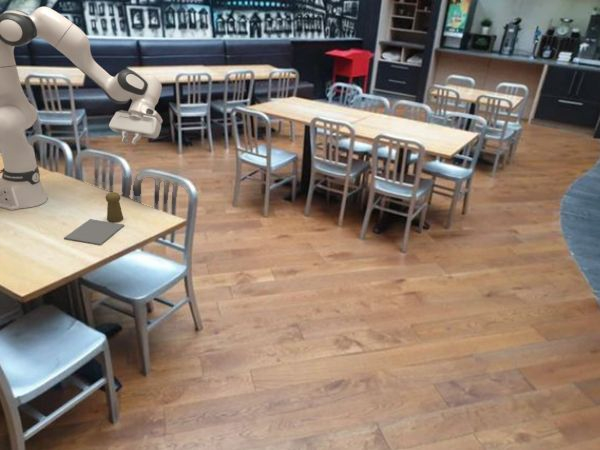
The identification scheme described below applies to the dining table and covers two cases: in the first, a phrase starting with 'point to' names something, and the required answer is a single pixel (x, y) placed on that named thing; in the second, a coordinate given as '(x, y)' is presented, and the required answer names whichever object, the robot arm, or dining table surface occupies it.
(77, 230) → the rubber mat
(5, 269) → the dining table surface
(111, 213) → the cork
